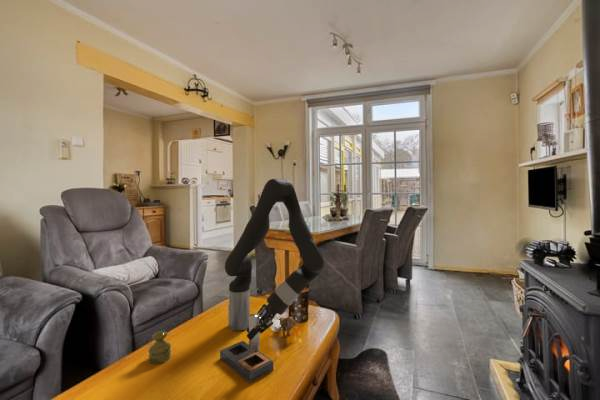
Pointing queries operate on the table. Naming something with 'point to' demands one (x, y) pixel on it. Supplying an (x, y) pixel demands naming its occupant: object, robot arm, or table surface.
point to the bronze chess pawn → (159, 349)
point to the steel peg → (255, 342)
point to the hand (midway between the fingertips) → (248, 334)
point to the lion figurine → (287, 324)
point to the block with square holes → (246, 361)
